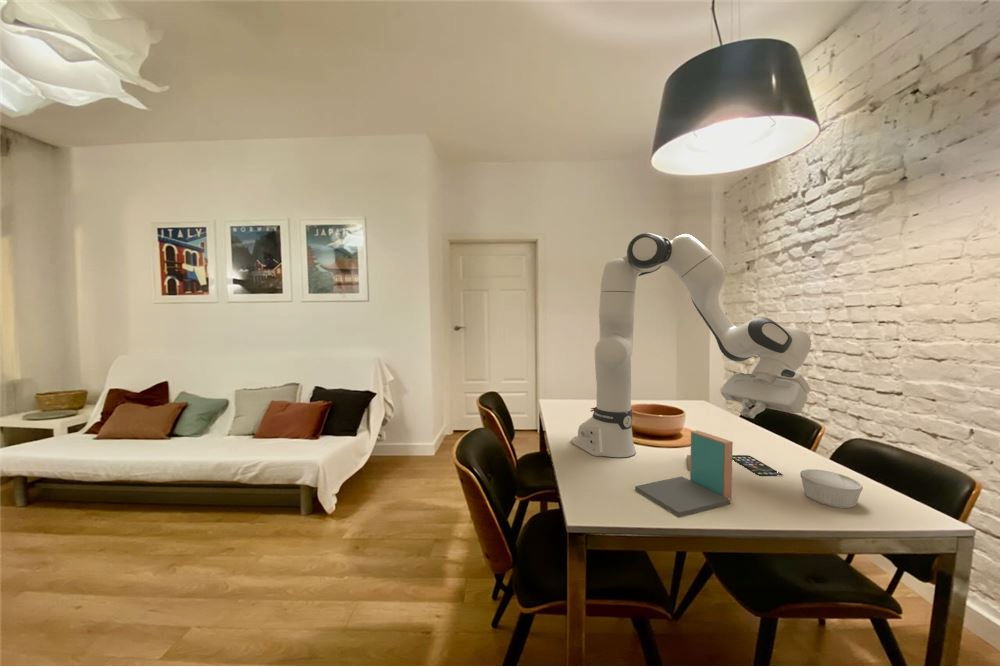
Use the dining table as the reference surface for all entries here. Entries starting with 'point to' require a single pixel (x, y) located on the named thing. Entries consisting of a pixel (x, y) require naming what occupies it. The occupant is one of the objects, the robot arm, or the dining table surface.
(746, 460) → the smartphone
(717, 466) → the tile
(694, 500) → the mat
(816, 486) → the ramekin
